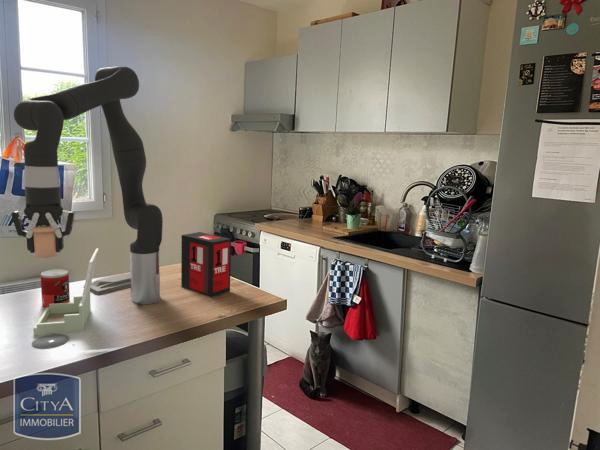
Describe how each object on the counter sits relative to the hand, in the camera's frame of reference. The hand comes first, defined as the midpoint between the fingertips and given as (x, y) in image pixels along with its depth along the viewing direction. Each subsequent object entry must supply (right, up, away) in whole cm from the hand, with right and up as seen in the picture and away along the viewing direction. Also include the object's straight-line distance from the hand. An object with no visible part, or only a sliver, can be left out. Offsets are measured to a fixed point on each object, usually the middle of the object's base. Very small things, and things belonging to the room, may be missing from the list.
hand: (46, 251), depth 110 cm
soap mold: (-4, -17, +52) cm, 55 cm away
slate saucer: (-1, -24, +4) cm, 25 cm away
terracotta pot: (0, -1, 0) cm, 1 cm away
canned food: (-14, -19, +30) cm, 38 cm away
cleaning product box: (+29, -18, +53) cm, 63 cm away
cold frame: (-4, -22, +17) cm, 28 cm away
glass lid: (+3, -8, +16) cm, 18 cm away
